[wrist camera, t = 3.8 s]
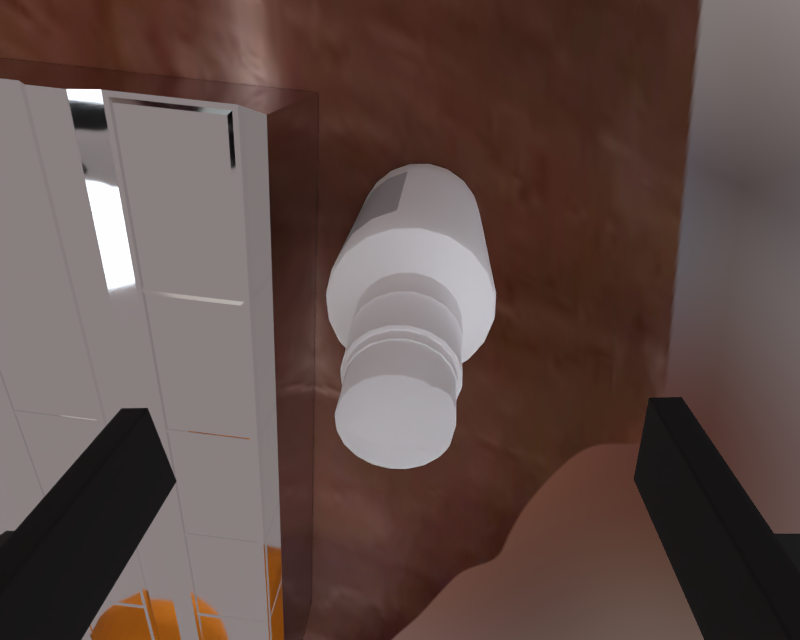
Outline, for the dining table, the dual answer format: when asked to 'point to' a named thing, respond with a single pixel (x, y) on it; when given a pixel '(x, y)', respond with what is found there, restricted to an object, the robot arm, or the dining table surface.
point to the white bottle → (409, 314)
